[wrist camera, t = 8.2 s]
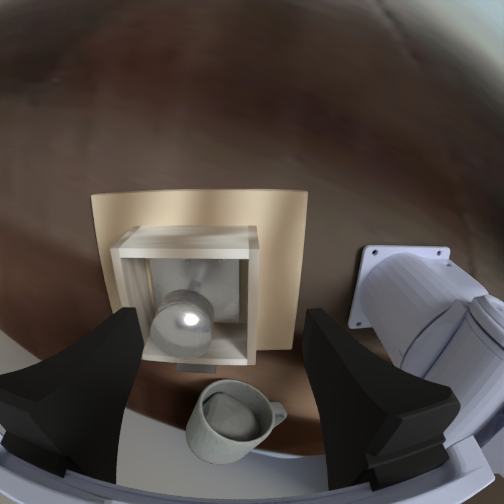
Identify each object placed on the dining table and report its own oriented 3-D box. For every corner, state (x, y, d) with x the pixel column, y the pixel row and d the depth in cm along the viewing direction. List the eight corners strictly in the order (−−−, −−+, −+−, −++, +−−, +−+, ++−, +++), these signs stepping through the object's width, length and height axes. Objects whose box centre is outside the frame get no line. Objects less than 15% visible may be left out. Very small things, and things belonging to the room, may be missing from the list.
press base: (305, 190, 20) (324, 207, 15) (290, 345, 25) (298, 384, 20) (94, 194, 19) (59, 211, 15) (123, 339, 25) (106, 374, 20)
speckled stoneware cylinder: (186, 411, 29) (179, 465, 22) (202, 370, 26) (195, 434, 19) (268, 426, 31) (274, 477, 24) (297, 389, 28) (310, 447, 21)
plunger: (239, 242, 20) (237, 288, 14) (239, 318, 23) (238, 377, 17) (149, 242, 20) (116, 285, 14) (160, 316, 23) (139, 370, 17)
